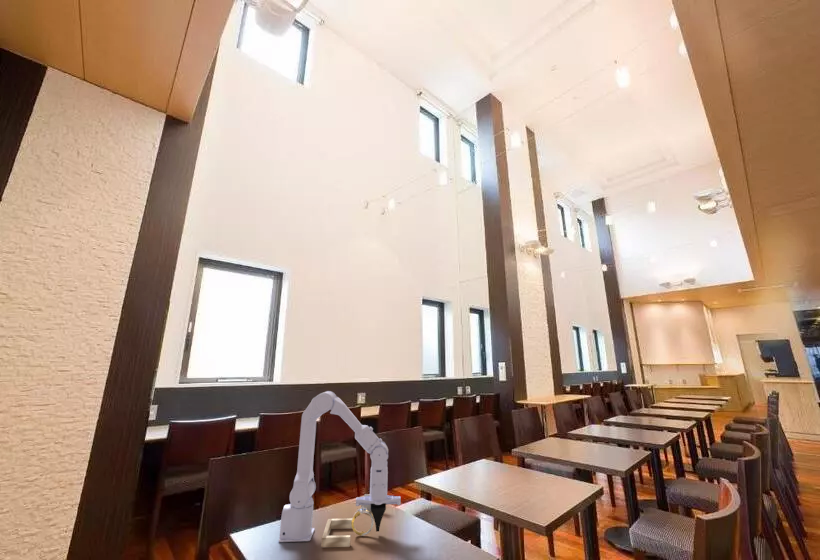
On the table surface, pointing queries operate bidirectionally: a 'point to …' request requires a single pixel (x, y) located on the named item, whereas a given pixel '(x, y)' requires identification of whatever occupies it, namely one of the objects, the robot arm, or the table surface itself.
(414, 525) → the table surface
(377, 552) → the table surface
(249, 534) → the table surface
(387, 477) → the robot arm
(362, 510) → the ring
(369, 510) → the lighter
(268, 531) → the table surface
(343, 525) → the keeper
